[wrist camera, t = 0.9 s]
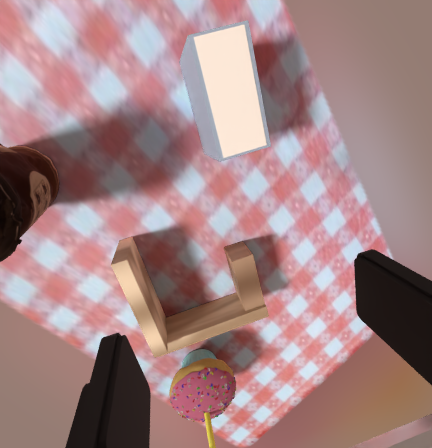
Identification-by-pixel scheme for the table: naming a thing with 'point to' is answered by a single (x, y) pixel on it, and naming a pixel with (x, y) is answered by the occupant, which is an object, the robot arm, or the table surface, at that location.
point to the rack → (196, 317)
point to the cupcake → (202, 388)
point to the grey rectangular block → (225, 91)
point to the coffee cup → (23, 192)
